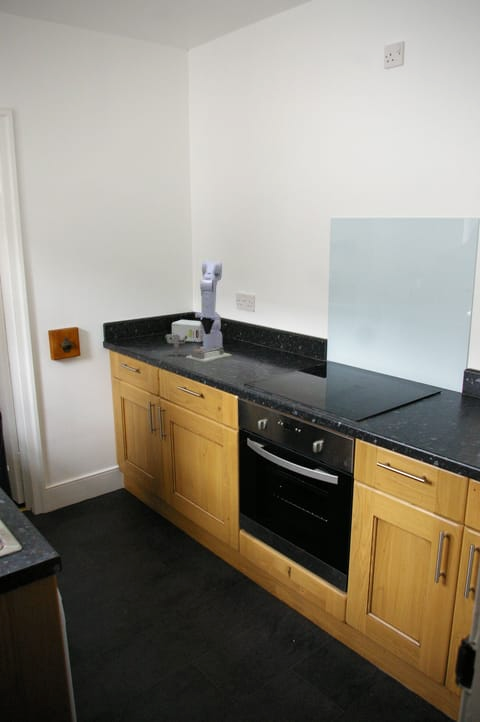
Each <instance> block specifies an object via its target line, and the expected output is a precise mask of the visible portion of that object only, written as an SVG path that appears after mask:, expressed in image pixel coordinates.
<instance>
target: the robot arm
mask: <svg viewBox="0 0 480 722" xmlns="http://www.w3.org/2000/svg"><path fill="white" fill-rule="evenodd" d="M201 272H202V273H201V274H202V280H200V283H199V287H200V296H201V312H195V315H194V316H195V318H200V320H199V321H200V328H201V330H203V341H202V345H203V346H200V347H199V349H204V348H208V347H213V346H219V347H222V349H224V346H223V334H222V332H221V324H222V323H221V314H219V313H218V312H217V311H216V304H217V285H218V282H219V281H221V279H222V277H223V276H222V275H223V263H222V261H202V263H201Z"/></svg>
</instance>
